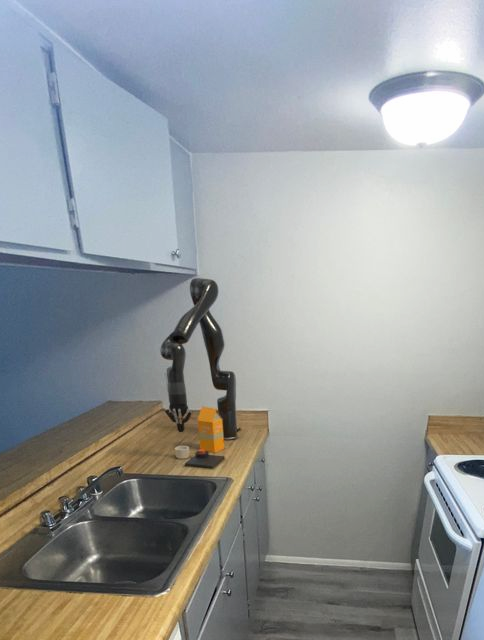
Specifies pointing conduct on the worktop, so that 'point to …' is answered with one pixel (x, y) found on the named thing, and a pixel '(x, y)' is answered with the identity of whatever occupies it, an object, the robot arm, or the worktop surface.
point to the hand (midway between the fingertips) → (181, 431)
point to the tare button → (201, 451)
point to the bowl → (182, 452)
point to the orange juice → (210, 430)
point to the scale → (204, 460)
